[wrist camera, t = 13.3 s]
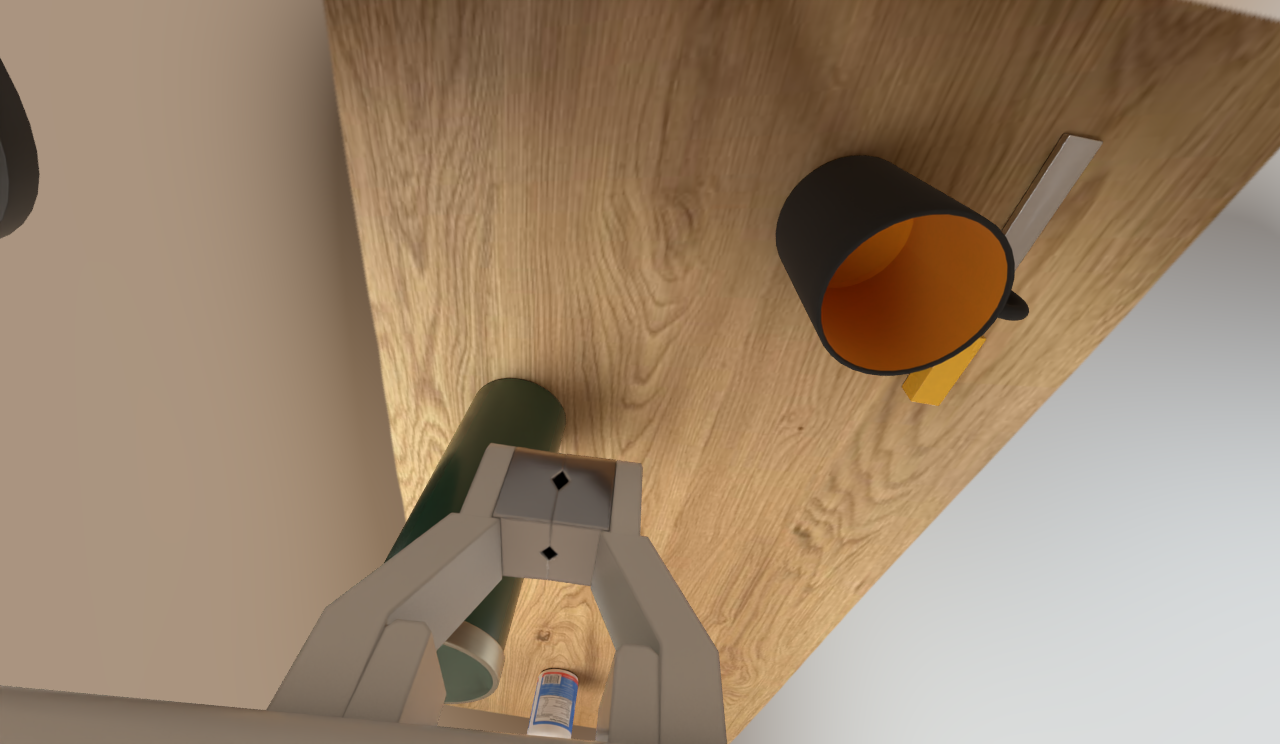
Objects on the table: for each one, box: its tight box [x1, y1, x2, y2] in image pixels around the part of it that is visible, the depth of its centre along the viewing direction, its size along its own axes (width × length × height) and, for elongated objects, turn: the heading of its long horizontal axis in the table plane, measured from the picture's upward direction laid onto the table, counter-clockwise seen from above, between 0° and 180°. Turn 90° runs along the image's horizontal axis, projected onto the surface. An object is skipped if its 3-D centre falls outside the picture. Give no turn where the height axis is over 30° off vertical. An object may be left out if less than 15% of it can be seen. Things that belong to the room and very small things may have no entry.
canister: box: [384, 379, 566, 704], centre depth 32 cm, size 8×8×20 cm
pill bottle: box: [527, 669, 578, 739], centre depth 66 cm, size 6×6×11 cm
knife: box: [902, 134, 1103, 406], centre depth 30 cm, size 18×2×2 cm, turn 170°
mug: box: [776, 155, 1029, 376], centre depth 25 cm, size 8×12×10 cm
